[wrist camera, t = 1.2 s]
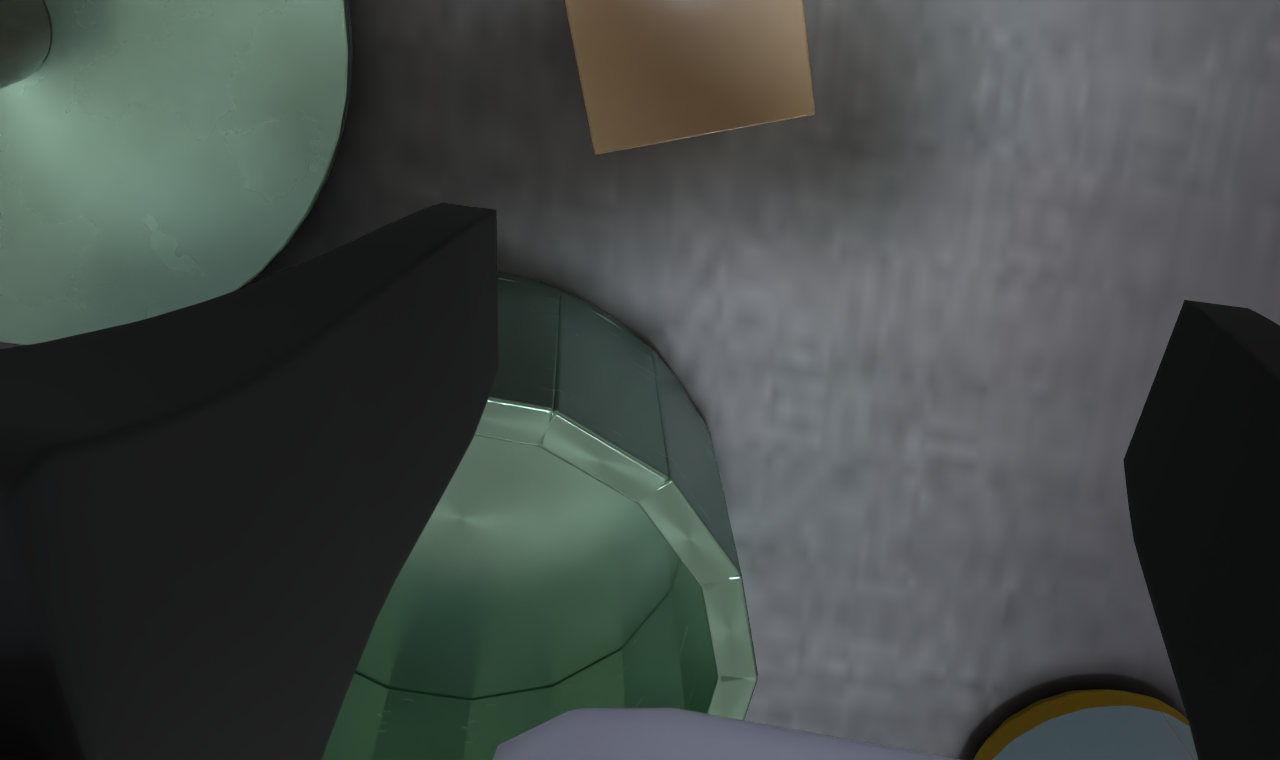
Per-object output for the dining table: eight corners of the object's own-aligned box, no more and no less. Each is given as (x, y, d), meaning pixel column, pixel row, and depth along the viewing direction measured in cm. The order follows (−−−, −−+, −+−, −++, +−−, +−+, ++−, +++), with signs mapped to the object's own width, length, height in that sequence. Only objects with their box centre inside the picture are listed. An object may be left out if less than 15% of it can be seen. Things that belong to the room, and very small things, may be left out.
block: (593, 110, 23) (594, 156, 20) (554, -92, 22) (548, -83, 18) (780, 76, 23) (815, 115, 20) (755, -130, 22) (789, -130, 18)
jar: (292, 743, 30) (223, 951, 24) (122, 322, 25) (-18, 461, 19) (748, 666, 30) (788, 859, 24) (673, 221, 25) (701, 331, 19)
